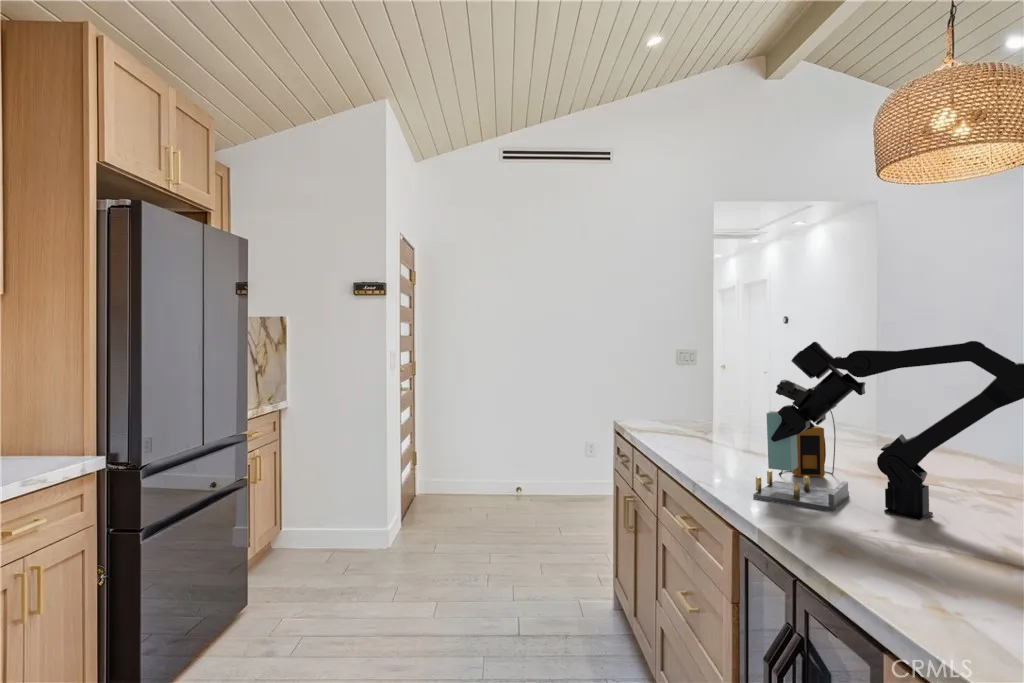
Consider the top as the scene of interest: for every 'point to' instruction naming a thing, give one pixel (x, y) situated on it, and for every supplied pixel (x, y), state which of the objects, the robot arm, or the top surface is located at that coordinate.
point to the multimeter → (812, 452)
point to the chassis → (802, 493)
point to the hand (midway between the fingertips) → (775, 438)
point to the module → (780, 446)
